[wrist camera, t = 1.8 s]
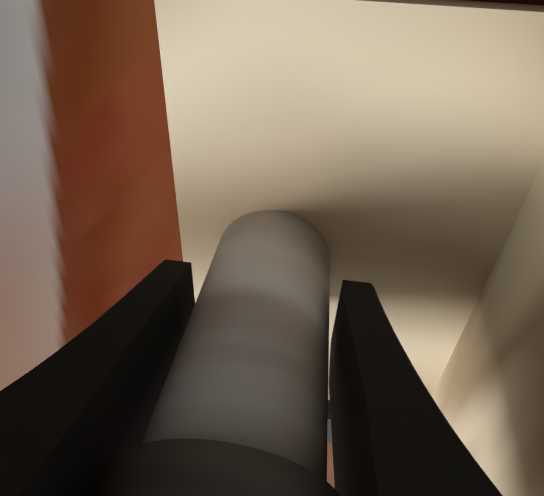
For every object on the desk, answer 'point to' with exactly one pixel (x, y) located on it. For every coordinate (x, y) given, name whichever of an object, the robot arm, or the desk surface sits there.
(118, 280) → the desk surface
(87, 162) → the desk surface
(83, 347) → the robot arm
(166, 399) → the clamp jaw
